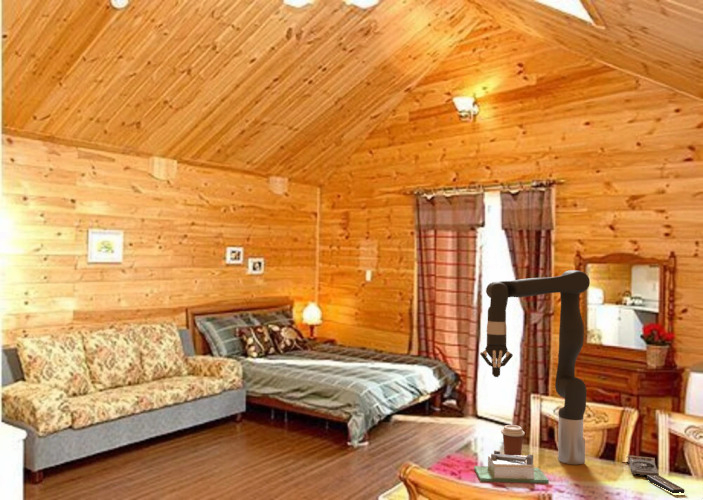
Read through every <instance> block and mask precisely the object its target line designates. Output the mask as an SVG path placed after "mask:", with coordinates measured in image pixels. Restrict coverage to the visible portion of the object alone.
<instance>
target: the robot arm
mask: <svg viewBox="0 0 703 500" xmlns="http://www.w3.org/2000/svg"><path fill="white" fill-rule="evenodd" d="M590 283H591V282H590V278H589V275H587V273H585V272H583V271H581V270H576V269H574V270H573V269H570V270H566V271H564V272H563V273H562V274H561V275H557V276H552V277H550V276H549V277H531V278H520V279H515V280H503V281H492V282H490V283H489V284H488V285H487V286H486V289H485V291H486V292H485V293H486V295H487V297H489V298H490V301H489V304H490V305H489V307H488V309H487V323H486V324H487V325H486V347H485V350H484V351H481V352H480V353H479V354H480V356H481V358H483V360H484V361H485V362H486V364H487V365H488V366H489V367H491V374H492V376H493V377H494V378H499V376H501V367H505V366H506V365H507V363H508V362H509V361H510V360H511V359H512V357H513V355H514V354H513V353H512V352H510V351H508V350H509V349H508V347H507V308H508V307H507V306H508V300H509V298H525V297H532V296H540V295H546V294H558V293H559V297H560V314H559V327H558V328H559V329H558V331H559V332H558V333H559V334H558V356H557V357H558V358H557V360H558V361H557V368H556V375H555V385H554V386H555V387H554V388H555V391H556V394H557V395H558V396H559V397H561V398H563V399H564V404H563V407H560V408H558V437H557V438H558V441H557V443H558V444H557V445H558V446H557V448H558V449H557V452H558V453H557V459H558V461H559V462H560V463H563V464H567V465H581V464H586V439H585V437H584V414H585V412H586V409H587V396H588V395H587V393H588V392H587V385H586V383H585V381H583V380H582V379H581V378H578V377H576V376H575V369H576V361H577V359H578V356H579V355H580V353H581V351H582V349H583V346H584V340H585V339H584V338H585V326H584V321H583V318H582V314H581V310H580V295H581V294H582V293H584V292H586V291H587V290H588V289H589V287H590V285H591V284H590ZM488 356H489V357H490V359H491V361H490V360H489V358H488ZM504 356H505V357H504ZM502 358H503V359H502Z"/></svg>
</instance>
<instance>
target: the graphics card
mask: <svg viewBox="0 0 703 500" xmlns="http://www.w3.org/2000/svg"><path fill="white" fill-rule="evenodd" d="M627 455H628V456H627V458H628V463H627V464H629V467H630V472H631V474H633V475H636V474H640V475H639V476H644V475H659V472H658V469H657V468H658V467H657V465H656V460H655V457H650V456H649V457H648V456H637V455H629V454H627Z"/></svg>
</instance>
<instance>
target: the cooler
mask: <svg viewBox="0 0 703 500" xmlns="http://www.w3.org/2000/svg"><path fill="white" fill-rule="evenodd" d="M496 453H497V454H501V450H494V451H493V453H491V454H488V456H487V466H485V465H484V466H483V465H482V466H480V465H478V466H477V465H473V466H474V467H473V470H474V471H475V474H476V475H477V478H478V479H480V480H479V482H480V481H481V483H484V481H485V483H515V484H517V483H518V484H519V483H520V484H521V483H522V484H549V483H550V482H549V478H548V477H547V476H546V475H545V474H544V473H543V471H542V470H541V469H540V468H539V467H534V455H533V454H527V455H522V454H521V455H514V456H522V457H526V461H525V462H524V461H515V460H507V459H498V458H497V455H496Z"/></svg>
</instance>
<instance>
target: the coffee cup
mask: <svg viewBox="0 0 703 500" xmlns="http://www.w3.org/2000/svg"><path fill="white" fill-rule="evenodd" d="M500 432H501V434H502V439H503V440H502V441H503V454H505V455H521V456H522V452H523V451H522V449H523V439H524V436H525V433H526V432H525V431H524V430H523V427H521V426H519V425H515V424H507V425H504V426H503V428H502V429H501V431H500Z"/></svg>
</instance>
